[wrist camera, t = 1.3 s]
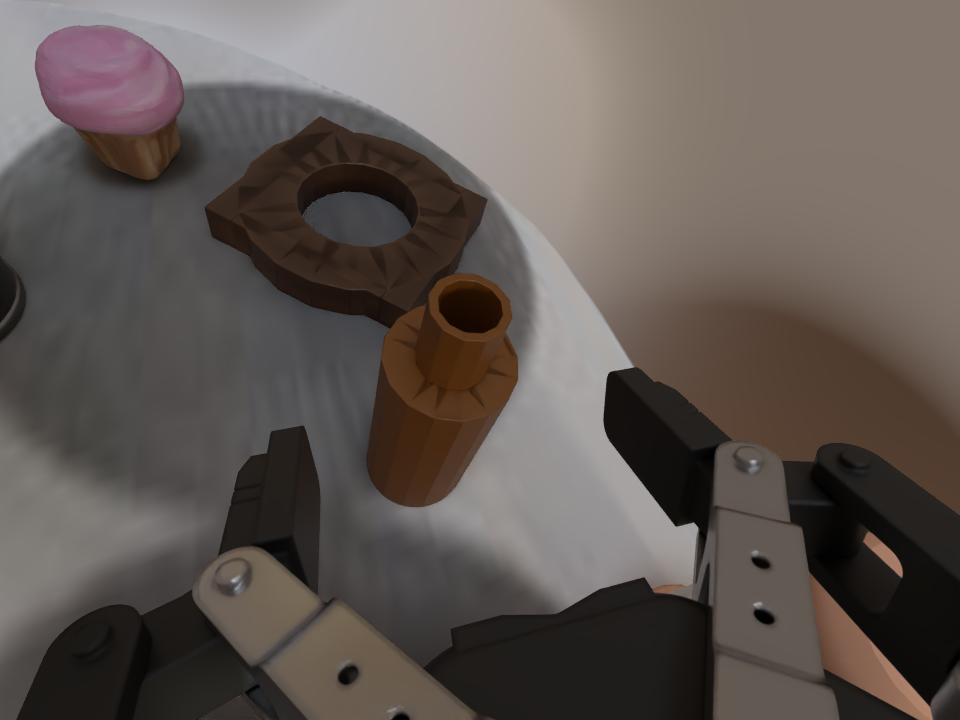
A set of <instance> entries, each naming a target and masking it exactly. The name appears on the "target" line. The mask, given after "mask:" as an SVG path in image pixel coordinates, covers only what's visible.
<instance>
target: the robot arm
mask: <svg viewBox="0 0 960 720" xmlns="http://www.w3.org/2000/svg"><path fill="white" fill-rule="evenodd" d="M24 304H25V290H24V286H23V283H22V281H21V279H20V278H19V276H18V275H17V274H16V272H15V271H14V270H13V269H12V267H11V266H10V265H9V264H8V263H7V262H6V261H5V260H4V259H2V257H1V256H0V339H1V338H3V337H4V336H5V335H6V334H7V333H8V332H9V331H10V330H11V328H12V327H13V326H14V325H15V323H16V322H17V321H18V319H19V317H20V315H21V313H22V311H23V308H24ZM603 421H604V428H605V432H606V435H607V437H608V439H609V441H610V442H611V443H612V445H613V446H614V447H615V449H616V450H617V451H618V452H619V454H620V455H621V456H622V458H623V459H624V460H625V461H626V463H627V464H628V465H629V467H630V468H631V469H632V471H633V472H634V473H635V474H636V476H637V477H638V478H639V480H640V481H641V482H642V483H643V485H644V486H645V487H646V489H647V490H648V491H649V492H650V494H651V495H652V496H653V498H654V499H655V500H656V502H657V503H658V504H659V505H660V507H661V508H662V509H663V511H664V512H665V513H666V514H667V516H668V517H669V518H670V520H671V521H672V522H673V524H674V525H675V526H676V527H677V526H681V525H685V524H689V523H693V522H694V523H695V524H696V525H697V526H698V533H697V537H696V548H695V562H694V575H693V588H692V599H689V598H686V597H683V596H678V595H673V594H666V593H654V592H653V590H652V588H651V587H650V585H649V584H648V582H647V580H646V579H645V577H644V578H640V579H636V580H633V581H629V582H625V583H621V584H618V585H614V586H610V587H606V588H602V589H599V590H597V591H596V592H594V593H592V594H591V595H589V596H587V597H586V598H584V599H582V600H580V601H579V602H577V603H575V604H574V605H572V606H570V607H568V608H567V609H565V610H563V611H562V612H560V613H557V614H551V615H501V616H497V617H493V618H489V619H486V620H482V621H478V622H474V623H471V624H467V625H463V626H459V627H456V628H452V629H451V635H452V644H453V646H452V647H450V648H449V649H447V650H445V651H444V652H442V653H441V654H440V655H438V656H437V657H436V658H434V659H433V660H432V661H431V662H429V663H428V664H427V665H426V666H425V667H424V668H422V667H420V666H419V665H418V664H417V663H416V662H414V661H413V660H412V659H411V658H410V657H409V656H407V655H406V654H405V653H404V652H403V651H401V650H400V649H399V648H398V647H397V646H396V645H394V644H393V643H392V642H391V641H390V640H388V639H387V638H386V637H385V636H384V635H383V634H381V633H380V632H379V631H378V630H377V629H375V628H374V627H373V626H372V625H371V624H370V623H368V622H367V621H366V620H365V619H364V618H362V617H361V616H360V615H359V614H358V613H357V612H355V611H354V610H353V609H352V608H351V607H349V606H348V605H347V604H346V603H345V602H343V601H342V600H340V599H338V598H332V599H331V600H330V601H329V602H328V603H326V602H324V601H323V600H322V599H321V598H319V597H318V568H319V533H320V487H319V480H318V475H317V471H316V467H315V463H314V460H313V456H312V452H311V448H310V444H309V441H308V437H307V433H306V430H305V428H304V426H299V427H293V428H287V429H282V430H276V431H272V432H271V434H270V440H269V445H268V451H267V453H265V454H260V455H255V456H251V457H250V458H249V459H248V461H247V462H246V463H245V464H244V466H243V467H242V468H241V469H240V471H239V472H238V475H237V479H236V483H235V488H234V490H235V492H233V496H232V500H231V506H230V508H229V512H228V517H227V521H226V525H225V529H224V533H223V537H222V541H221V546H220V550H219V554H218V557H216V558H215V559H213V560H212V561H211V562H209V563H208V564H207V565H206V566H205V567H204V568H203V569H202V571H201V572H200V573H199V575H198V576H197V578H196V580H195V582H194V584H193V589H192V590H190V591H189V592H187V593H186V594H184V595H183V596H181V597H179V598H177V599H175V600H173V601H171V602H169V603H167V604H165V605H163V606H160V607H158V608H156V609H154V610H152V611H150V612H148V613H146V614H144V615H142V616H140V614H139V613H138V611H137V610H136V609H135V608H133V607H131V606H128V605H121V604H119V605H111V606H106V607H103V608H100V609H97V610H95V611H93V612H90V613H88V614H87V615H85V616H83V617H81V618H80V619H78V620H77V621H75V622H74V623H72V624H71V625H70V626H69V627H67V628H66V629H65V630H64V631H63V632H62V633H61V634H60V635H59V636H58V637H57V638H56V639H55V640H54V641H53V643H52V644H51V645H50V647H49V648H48V650H47V652H46V654H45V656H44V658H43V660H42V662H41V665H40V667H39V669H38V671H37V674H36V676H35V678H34V681H33V683H32V685H31V687H30V690H29V692H28V694H27V697H26V699H25V701H24V703H23V706H22V708H21V710H20V713H19V715H18V717H17V719H16V720H197V719H199V718H201V717H202V716H204V715H206V714H208V713H209V712H211V711H213V710H214V709H216V708H218V707H220V706H221V705H223V704H225V703H226V702H228V701H230V700H231V699H233V698H235V697H237V696H238V695H240V694H241V695H242V696H243V697H244V698H245V700H246V701H247V702H248V703H249V705H250V706H251V707H252V708H253V709H254V711H255V712H256V713H257V714H258V716H259V717H260V718H261V719H262V720H918V719H916V718H915V717H913V716H911V715H909V714H907V713H905V712H903V711H902V710H900V709H898V708H896V707H894V706H892V705H891V704H889V703H887V702H885V701H883V700H881V699H880V698H878V697H876V696H874V695H872V694H870V693H868V692H867V691H865V690H863V689H861V688H859V687H857V686H856V685H854V684H852V683H850V682H848V681H846V680H844V679H843V678H841V677H839V676H837V675H835V674H833V673H832V672H830V671H828V670H826V669H824V668H823V664H822V657H821V651H820V644H819V637H818V630H817V624H816V617H815V610H814V604H813V597H812V590H811V584H810V577H809V572H810V574H811V575H812V576H813V577H814V578H815V579H816V580H817V581H818V582H819V584H820V585H821V586H822V587H823V588H824V589H825V590H826V591H827V593H828V594H829V595H830V596H831V597H832V598H833V599H834V600H835V601H836V603H837V604H838V605H839V606H840V607H841V608H842V609H843V610H844V612H845V613H846V614H847V615H848V616H849V617H850V618H851V619H852V620H853V622H854V623H855V624H856V625H857V626H858V627H859V628H860V629H861V631H862V632H863V633H864V634H865V635H866V636H867V637H868V638H869V639H870V641H871V642H872V643H873V644H874V645H875V646H876V647H877V648H878V650H879V651H880V652H881V653H882V654H883V655H884V656H885V657H886V658H887V660H888V661H889V662H890V663H891V664H892V665H893V666H894V667H895V669H896V670H897V671H898V672H899V673H900V674H901V675H902V676H903V677H904V679H905V680H906V681H907V682H908V683H909V684H910V685H911V686H912V688H913V689H914V690H915V691H916V692H917V693H918V694H919V695H920V696H921V698H922V699H923V700H924V701H925V702H926V703H927V704H928V705H929V707H930V708H931V714H932V718H933V720H960V516H959V515H958V514H957V513H955V512H954V511H953V510H951V509H950V508H948V507H947V506H946V505H945V504H943V503H942V502H940V501H939V500H938V499H936V498H935V497H934V496H932V495H931V494H930V493H928V492H927V491H926V490H924V489H923V488H921V487H920V486H919V485H917V484H916V483H915V482H913V481H912V480H911V479H909V478H908V477H907V476H905V475H904V474H902V473H901V472H900V471H898V470H897V469H896V468H894V467H893V466H892V465H890V464H889V463H888V462H886V461H885V460H884V459H882V458H881V457H879V456H878V455H876V454H874V453H873V452H871V451H868V450H866V449H864V448H861V447H857V446H854V445H850V444H843V443H830V444H826V445H823V446H821V447H820V448H819V450H818V451H817V454H816V457H815V460H814V462H800V461H781V460H780V458H779V457H778V456H777V455H776V454H774V453H773V452H772V451H770V450H769V449H767V448H765V447H763V446H761V445H758V444H755V443H751V442H747V441H733V440H732V439H730V438H729V437H728V436H727V435H726V434H725V433H724V432H723V431H721V430H720V429H719V428H718V427H717V426H716V425H715V424H714V423H712V422H711V421H710V420H709V419H708V418H707V417H706V416H705V415H704V414H702V413H701V412H698V409H697V408H696V407H695V406H693V405H692V404H691V403H688V400H687V399H686V398H685V397H683V396H682V395H681V394H680V393H679V392H678V391H677V390H675V389H673V388H671V387H669V386H667V385H664V384H663V383H661V382H653V381H652V380H651V379H650V378H649V377H648V376H647V375H646V374H645V373H644V372H643V371H642V370H640V369H639V368H637V367H635V368H629V369H624V370H618V371H612V372H610V373H609V374H608V376H607V382H606V394H605V406H604V419H603ZM868 530H869V531H870V532H871V533H872V534H873V535H875V536H876V537H877V538H878V539H879V540H880V541H881V542H882V543H883V544H885V545H886V546H887V547H888V548H889V549H890V550H891V551H892V552H893V553H894V554H895V555H896V556H897V558H898V560H899V561H900V564H901V566H902V570H903V575H902V578H901V577H900V576H899V575H898V574H897V573H896V572H895V571H894V570H893V569H892V568H891V567H890V566H888V565H887V564H886V563H885V562H884V561H883V560H882V559H881V558H880V557H879V556H878V555H877V554H876V553H875V552H873V551H872V550H871V549H870V548H869V547H868V546H867V545H866V544H865V543H864V542H863V541H864V539H865V536H866V534H867V532H868Z"/></svg>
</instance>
